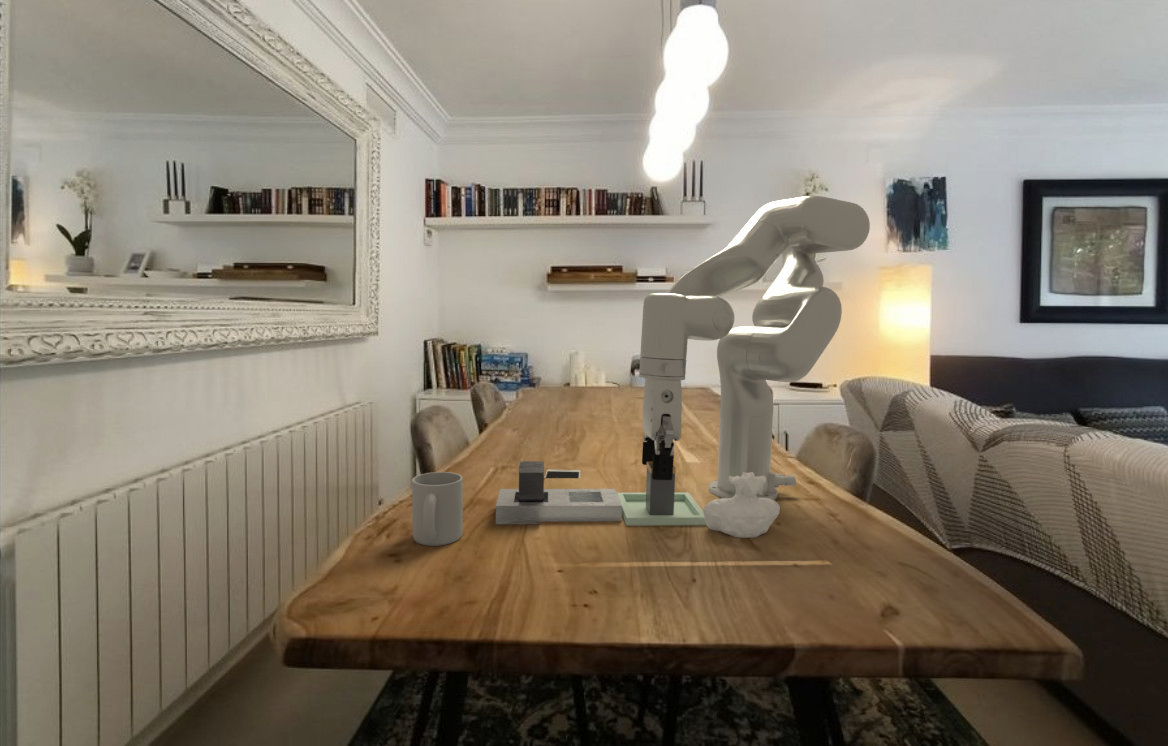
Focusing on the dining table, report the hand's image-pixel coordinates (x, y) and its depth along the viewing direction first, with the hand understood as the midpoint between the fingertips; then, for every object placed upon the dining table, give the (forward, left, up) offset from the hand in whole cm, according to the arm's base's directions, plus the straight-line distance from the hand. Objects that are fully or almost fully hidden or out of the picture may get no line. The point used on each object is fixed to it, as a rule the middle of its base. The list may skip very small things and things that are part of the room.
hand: (656, 471), depth 98 cm
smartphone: (+15, -20, -8) cm, 26 cm away
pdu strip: (+16, -1, -7) cm, 18 cm away
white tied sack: (-12, +9, -8) cm, 17 cm away
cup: (+34, +10, -8) cm, 37 cm away
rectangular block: (-1, -1, -7) cm, 7 cm away
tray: (-1, -1, -7) cm, 8 cm away
